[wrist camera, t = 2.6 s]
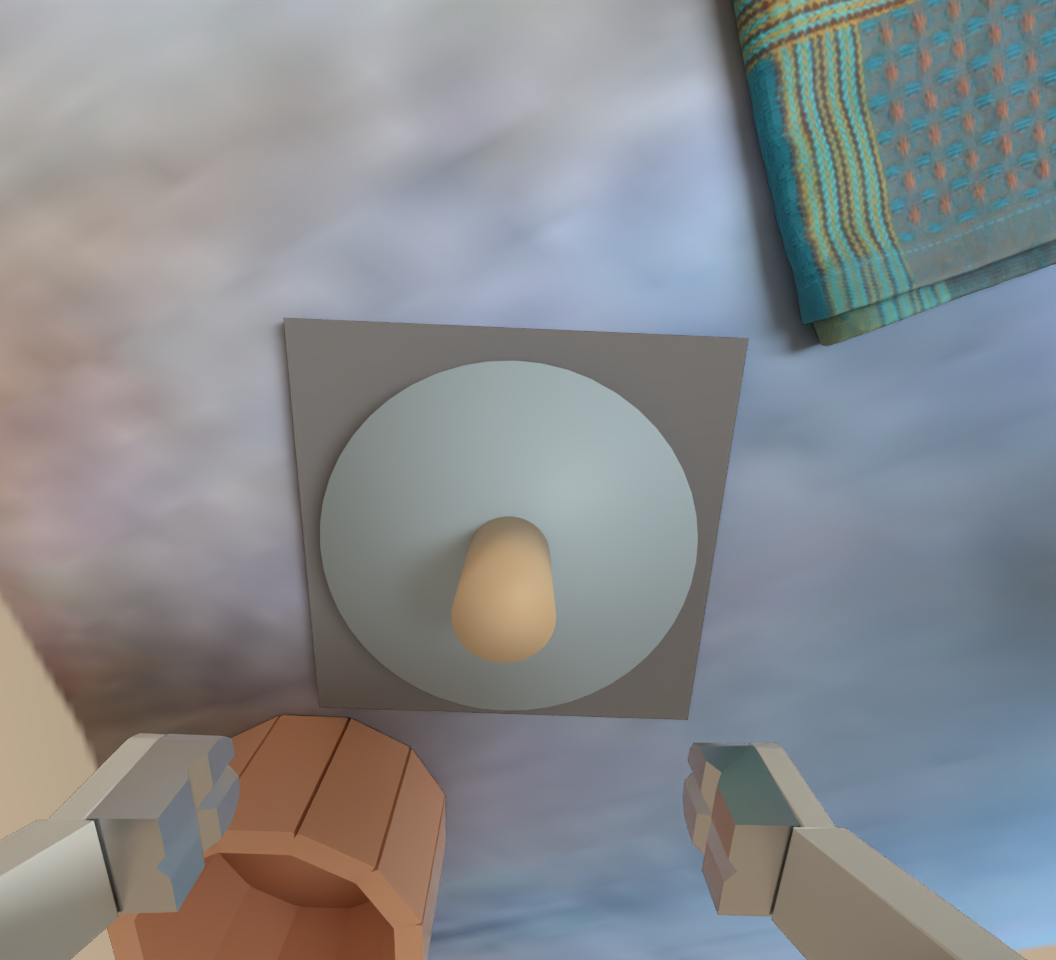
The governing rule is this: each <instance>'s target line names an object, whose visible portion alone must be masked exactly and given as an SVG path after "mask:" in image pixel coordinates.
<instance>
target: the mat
mask: <svg viewBox="0 0 1056 960" xmlns="http://www.w3.org/2000/svg"><path fill="white" fill-rule="evenodd" d="M284 328H285V339H286V350H287V361H288V372H289V383H290V394H291V405H292V416H293V426H294V437H295V448H296V459H297V470H298V481H299V492H300V503H301V514H302V525H303V536H304V547H305V558H306V569H307V580H308V591H309V602H310V613H311V624H312V635H313V646H314V657H315V668H316V679H317V689H318V700H319V707H325V708H354V709H384V710H413V711H442V712H472V713H501V714H530V715H560V716H589V717H618V718H648V719H677V720H688V714H689V708H690V701H691V695H692V689H693V683H694V676H695V670H696V664H697V658H698V651H699V645H700V639H701V633H702V626H703V620H704V614H705V608H706V601H707V595H708V589H709V583H710V576H711V570H712V564H713V558H714V551H715V545H716V539H717V533H718V526H719V520H720V514H721V508H722V501H723V495H724V489H725V482H726V476H727V470H728V464H729V457H730V451H731V445H732V439H733V432H734V426H735V420H736V414H737V407H738V401H739V395H740V389H741V382H742V376H743V370H744V364H745V357H746V351H747V345H748V339H749V338H731V337H709V336H686V335H663V334H640V333H618V332H595V331H572V330H549V329H527V328H504V327H481V326H458V325H436V324H413V323H390V322H368V321H345V320H322V319H299V318H284ZM495 360H521V361H530V362H539V363H545V364H549V365H553V366H557V367H561V368H565V369H568V370H571V371H573V372H576V373H578V374H581V375H583V376H586V377H588V378H591V379H592V380H594V381H596V382H598V383H600V384H601V385H603V386H605V387H607V388H608V389H610V390H612V391H614V392H615V393H617V394H618V395H620V396H621V397H622V398H624V399H625V400H626V401H628V402H629V403H630V404H631V405H633V406H634V407H635V408H637V409H638V410H639V411H640V412H641V413H642V414H643V415H644V416H645V417H646V418H647V419H648V420H649V421H650V422H651V423H652V424H653V425H654V426H655V427H656V428H657V429H658V431H659V432H660V433H661V435H662V436H663V437H664V439H665V440H666V442H667V443H668V444H669V446H670V447H671V448H672V450H673V452H674V454H675V456H676V457H677V459H678V461H679V463H680V465H681V467H682V469H683V471H684V473H685V476H686V479H687V481H688V484H689V487H690V490H691V492H692V497H693V502H694V506H695V511H696V516H697V532H698V545H697V557H696V565H695V569H694V574H693V578H692V583H691V586H690V588H689V591H688V594H687V596H686V599H685V602H684V605H683V606H682V608H681V610H680V612H679V614H678V616H677V618H676V620H675V621H674V623H673V625H672V626H671V628H670V629H669V630H668V632H667V633H666V635H665V636H664V637H663V639H662V640H661V642H660V643H659V644H658V645H657V646H656V647H655V648H654V649H653V650H652V651H651V653H650V654H649V655H648V656H647V657H646V658H645V659H644V660H643V661H641V662H640V663H639V664H638V665H637V666H635V667H634V668H633V669H632V670H631V671H629V672H628V673H627V674H625V675H624V676H622V677H621V678H619V679H618V680H616V681H615V682H613V683H611V684H610V685H608V686H606V687H604V688H602V689H600V690H598V691H596V692H594V693H592V694H590V695H587V696H584V697H582V698H579V699H576V700H573V701H571V702H567V703H563V704H559V705H555V706H551V707H546V708H538V709H530V710H492V709H481V708H476V707H471V706H466V705H461V704H458V703H455V702H451V701H448V700H445V699H442V698H439V697H436V696H434V695H432V694H430V693H427V692H425V691H423V690H421V689H418V688H417V687H415V686H413V685H412V684H410V683H408V682H407V681H405V680H403V679H401V678H400V677H398V676H397V675H396V674H394V673H393V672H392V671H390V670H389V669H388V668H386V667H385V666H384V665H382V664H381V663H380V662H379V661H378V660H377V659H376V658H375V657H374V656H373V655H372V654H371V653H370V652H369V651H368V650H367V649H366V648H365V647H364V646H363V645H362V644H361V642H360V641H359V640H358V639H357V637H356V636H355V635H354V634H353V633H352V631H351V630H350V628H349V627H348V625H347V623H346V622H345V620H344V619H343V617H342V615H341V614H340V612H339V610H338V608H337V606H336V603H335V601H334V599H333V597H332V594H331V592H330V589H329V586H328V583H327V579H326V576H325V573H324V569H323V562H322V556H321V549H320V520H321V513H322V505H323V500H324V496H325V493H326V489H327V486H328V482H329V479H330V476H331V474H332V472H333V470H334V467H335V465H336V463H337V461H338V459H339V456H340V455H341V453H342V452H343V450H344V448H345V447H346V445H347V444H348V442H349V441H350V439H351V438H352V436H353V435H354V434H355V432H356V431H357V430H358V429H359V428H360V427H361V425H362V424H363V423H364V422H365V421H366V420H367V419H368V417H369V416H370V415H372V414H373V413H374V412H375V411H376V410H377V409H379V408H380V407H381V406H382V405H383V404H384V403H385V402H387V401H388V400H389V399H390V398H392V397H394V396H395V395H397V394H398V393H400V392H401V391H403V390H404V389H406V388H408V387H409V386H411V385H413V384H415V383H417V382H419V381H421V380H424V379H426V378H428V377H430V376H432V375H434V374H437V373H440V372H443V371H446V370H449V369H453V368H456V367H459V366H462V365H466V364H473V363H479V362H485V361H495Z"/></svg>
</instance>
